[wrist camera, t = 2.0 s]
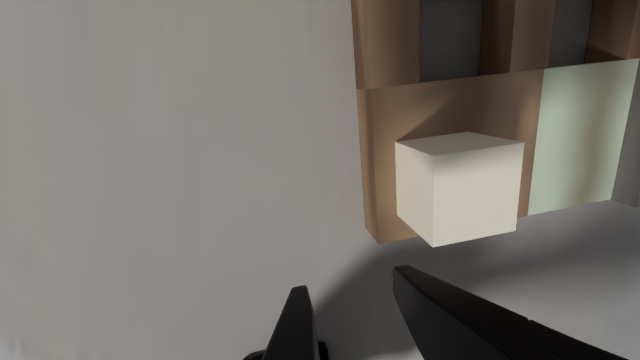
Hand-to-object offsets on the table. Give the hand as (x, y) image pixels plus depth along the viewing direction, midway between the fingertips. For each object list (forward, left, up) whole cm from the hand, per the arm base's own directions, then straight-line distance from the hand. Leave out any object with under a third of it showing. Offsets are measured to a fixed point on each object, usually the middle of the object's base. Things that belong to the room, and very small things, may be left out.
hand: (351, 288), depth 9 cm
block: (+7, 0, -8) cm, 11 cm away
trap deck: (+13, +4, -11) cm, 17 cm away
